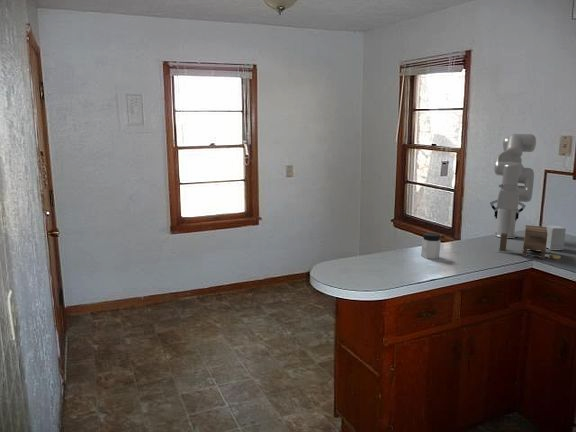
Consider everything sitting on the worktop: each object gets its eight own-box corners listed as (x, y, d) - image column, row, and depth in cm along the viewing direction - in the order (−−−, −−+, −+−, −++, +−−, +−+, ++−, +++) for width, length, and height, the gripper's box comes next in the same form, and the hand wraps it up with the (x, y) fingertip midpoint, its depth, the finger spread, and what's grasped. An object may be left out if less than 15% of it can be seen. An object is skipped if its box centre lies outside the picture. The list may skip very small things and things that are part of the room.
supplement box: (563, 251, 267) (566, 228, 264) (549, 250, 267) (552, 228, 264) (556, 247, 274) (559, 225, 271) (543, 247, 274) (545, 225, 272)
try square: (498, 250, 267) (500, 232, 265) (549, 256, 256) (551, 237, 254) (498, 252, 262) (500, 234, 260) (549, 258, 252) (551, 239, 250)
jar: (418, 255, 254) (420, 232, 251) (431, 254, 256) (433, 231, 254) (428, 259, 245) (429, 236, 243) (442, 258, 248) (443, 235, 245)
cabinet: (523, 248, 270) (525, 225, 267) (543, 251, 265) (546, 227, 263) (522, 257, 253) (525, 231, 250) (544, 259, 249) (547, 234, 246)
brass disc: (549, 256, 256) (549, 253, 256) (559, 257, 254) (560, 255, 254) (549, 259, 252) (550, 256, 251) (560, 260, 250) (561, 257, 249)
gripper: (491, 187, 257) (488, 218, 261) (527, 189, 249) (523, 222, 253) (492, 185, 263) (489, 216, 267) (527, 187, 256) (523, 219, 260)
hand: (506, 219), depth 260 cm, fingers open, 9 cm apart
